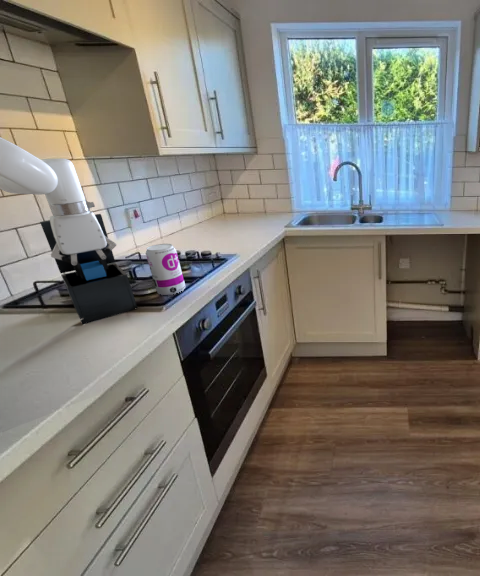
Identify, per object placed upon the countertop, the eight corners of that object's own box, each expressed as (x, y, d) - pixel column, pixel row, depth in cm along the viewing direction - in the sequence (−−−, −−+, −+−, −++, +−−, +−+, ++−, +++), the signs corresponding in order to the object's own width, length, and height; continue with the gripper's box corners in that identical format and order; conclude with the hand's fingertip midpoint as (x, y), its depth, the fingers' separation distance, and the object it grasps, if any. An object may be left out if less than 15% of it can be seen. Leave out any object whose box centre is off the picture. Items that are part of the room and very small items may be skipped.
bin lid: (101, 214, 102) (96, 208, 105) (40, 222, 94) (37, 215, 97) (115, 262, 110) (110, 255, 114) (60, 273, 102) (57, 265, 105)
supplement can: (191, 288, 119) (180, 244, 113) (168, 298, 112) (155, 252, 106) (175, 284, 122) (163, 242, 116) (151, 294, 115) (138, 249, 109)
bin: (138, 308, 106) (126, 274, 101) (82, 324, 97) (67, 288, 93) (126, 294, 115) (115, 262, 111) (74, 308, 107) (60, 274, 102)
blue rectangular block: (106, 276, 100) (103, 266, 99) (86, 280, 97) (82, 270, 96) (101, 270, 105) (98, 260, 103) (82, 274, 102) (78, 264, 100)
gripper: (106, 202, 101) (126, 264, 109) (25, 212, 91) (53, 279, 98) (111, 206, 96) (132, 270, 104) (27, 216, 86) (56, 287, 93)
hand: (93, 274), depth 101 cm, fingers closed on blue rectangular block, 4 cm apart
